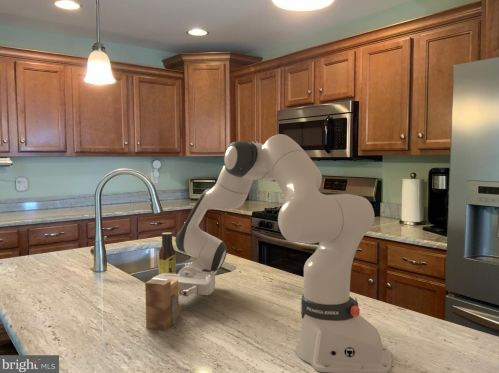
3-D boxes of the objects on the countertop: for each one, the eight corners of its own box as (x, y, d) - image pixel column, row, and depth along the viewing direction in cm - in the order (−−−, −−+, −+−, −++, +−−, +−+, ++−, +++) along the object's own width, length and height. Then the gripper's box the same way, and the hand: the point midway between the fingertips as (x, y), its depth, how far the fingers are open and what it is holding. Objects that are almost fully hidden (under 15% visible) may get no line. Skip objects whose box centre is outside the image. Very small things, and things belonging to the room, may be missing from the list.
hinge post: (177, 321, 116) (176, 278, 115) (166, 330, 110) (166, 284, 109) (156, 318, 118) (155, 276, 117) (144, 327, 112) (143, 282, 111)
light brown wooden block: (178, 315, 121) (178, 280, 120) (169, 323, 115) (168, 286, 114) (169, 314, 122) (168, 279, 121) (159, 321, 116) (158, 285, 115)
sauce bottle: (172, 289, 145) (171, 235, 143) (156, 288, 146) (154, 234, 144) (178, 283, 151) (178, 231, 149) (163, 282, 152) (162, 231, 151)
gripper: (163, 266, 136) (140, 278, 123) (218, 271, 130) (201, 285, 117) (163, 284, 136) (141, 298, 123) (219, 290, 131) (202, 305, 117)
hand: (171, 291), depth 120 cm, fingers open, 8 cm apart
